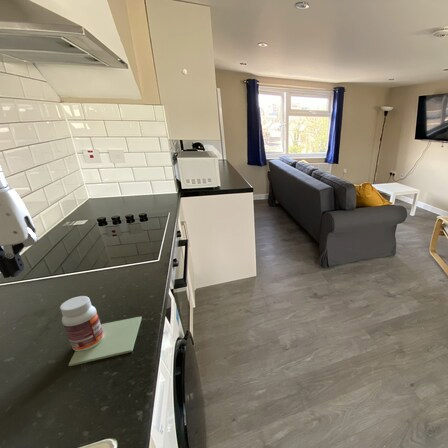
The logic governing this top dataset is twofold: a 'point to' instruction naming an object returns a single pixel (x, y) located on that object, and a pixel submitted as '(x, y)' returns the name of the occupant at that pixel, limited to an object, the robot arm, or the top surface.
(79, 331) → the pill bottle
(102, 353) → the mat
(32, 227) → the robot arm
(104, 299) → the top surface
